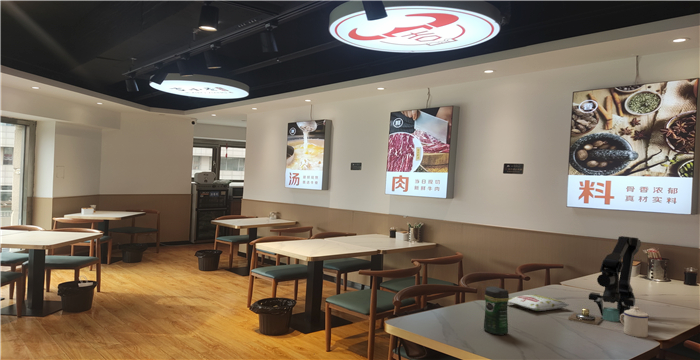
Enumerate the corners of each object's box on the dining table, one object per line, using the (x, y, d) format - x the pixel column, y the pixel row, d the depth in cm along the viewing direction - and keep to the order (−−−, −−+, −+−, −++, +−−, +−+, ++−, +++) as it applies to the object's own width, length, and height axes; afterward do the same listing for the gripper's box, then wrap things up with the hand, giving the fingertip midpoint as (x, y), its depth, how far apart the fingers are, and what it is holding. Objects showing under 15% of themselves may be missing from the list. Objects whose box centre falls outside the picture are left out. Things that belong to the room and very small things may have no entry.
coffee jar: (511, 334, 189) (512, 289, 190) (496, 336, 186) (497, 290, 186) (494, 327, 198) (496, 284, 199) (480, 329, 195) (481, 285, 195)
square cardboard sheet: (574, 314, 225) (574, 304, 225) (602, 319, 217) (602, 309, 217) (568, 319, 215) (568, 309, 215) (597, 325, 208) (597, 314, 208)
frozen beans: (570, 299, 232) (535, 302, 221) (570, 310, 232) (535, 314, 221) (537, 291, 251) (503, 294, 240) (537, 302, 251) (503, 305, 240)
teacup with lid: (653, 337, 193) (654, 309, 193) (637, 338, 190) (638, 310, 191) (628, 328, 205) (628, 302, 205) (612, 329, 202) (613, 303, 202)
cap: (604, 316, 223) (604, 306, 223) (619, 319, 219) (620, 309, 219) (601, 319, 218) (602, 308, 218) (617, 322, 214) (617, 311, 214)
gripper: (586, 283, 218) (585, 316, 218) (632, 290, 207) (631, 325, 206) (591, 280, 227) (590, 312, 227) (635, 286, 215) (634, 320, 215)
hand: (611, 317), depth 218 cm, fingers open, 7 cm apart
